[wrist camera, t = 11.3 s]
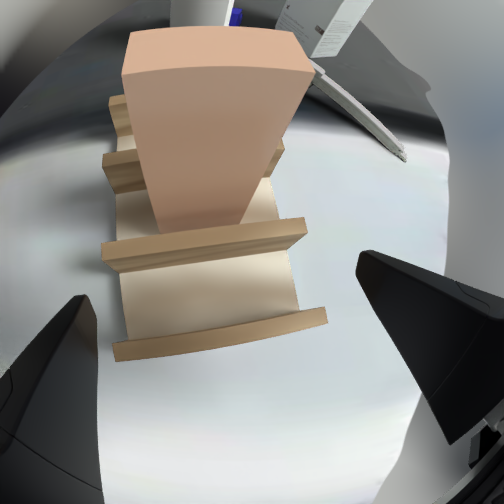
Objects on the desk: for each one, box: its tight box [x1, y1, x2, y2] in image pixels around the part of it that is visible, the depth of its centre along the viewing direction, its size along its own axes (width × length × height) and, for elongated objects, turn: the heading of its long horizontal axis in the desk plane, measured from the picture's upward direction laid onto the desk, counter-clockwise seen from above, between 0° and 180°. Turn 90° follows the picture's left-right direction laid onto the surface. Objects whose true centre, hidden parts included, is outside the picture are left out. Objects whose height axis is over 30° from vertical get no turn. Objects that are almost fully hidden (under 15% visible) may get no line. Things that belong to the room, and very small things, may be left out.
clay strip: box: [122, 26, 316, 234], centre depth 13 cm, size 2×6×14 cm, turn 101°
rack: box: [101, 94, 328, 362], centre depth 18 cm, size 18×12×5 cm, turn 11°
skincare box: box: [275, 0, 373, 58], centre depth 23 cm, size 8×6×15 cm
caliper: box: [308, 58, 407, 162], centre depth 24 cm, size 20×1×6 cm, turn 62°
